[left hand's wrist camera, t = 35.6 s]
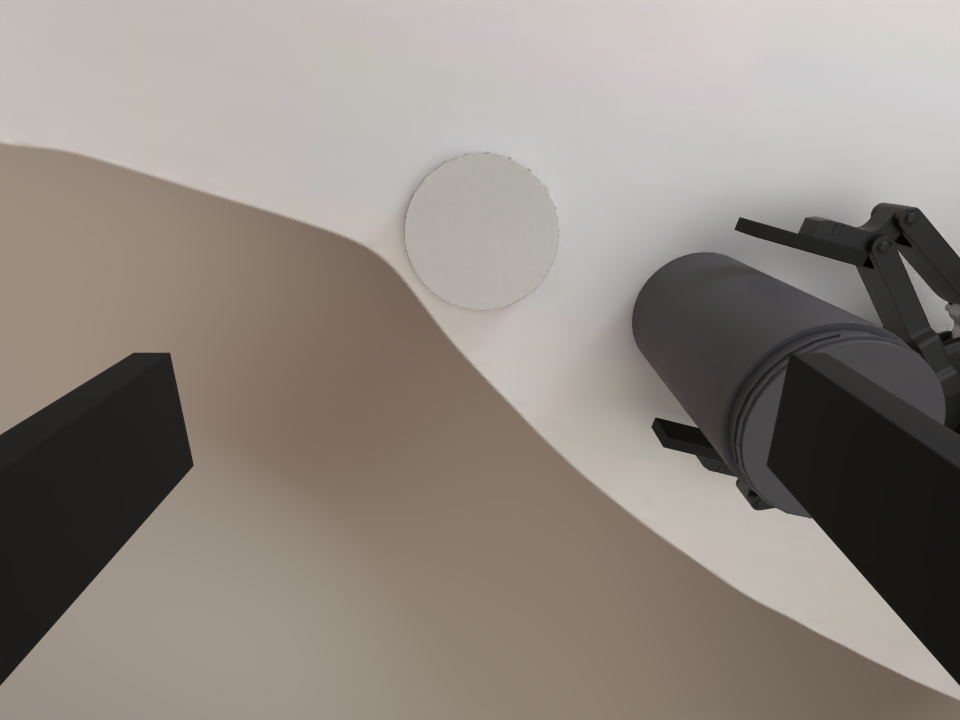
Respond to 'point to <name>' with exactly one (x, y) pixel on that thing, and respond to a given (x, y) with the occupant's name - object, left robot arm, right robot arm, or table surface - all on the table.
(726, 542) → the table surface
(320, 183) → the table surface
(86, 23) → the table surface
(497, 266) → the lid
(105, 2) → the table surface
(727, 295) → the jar
